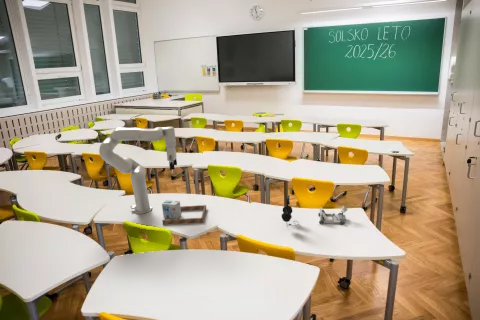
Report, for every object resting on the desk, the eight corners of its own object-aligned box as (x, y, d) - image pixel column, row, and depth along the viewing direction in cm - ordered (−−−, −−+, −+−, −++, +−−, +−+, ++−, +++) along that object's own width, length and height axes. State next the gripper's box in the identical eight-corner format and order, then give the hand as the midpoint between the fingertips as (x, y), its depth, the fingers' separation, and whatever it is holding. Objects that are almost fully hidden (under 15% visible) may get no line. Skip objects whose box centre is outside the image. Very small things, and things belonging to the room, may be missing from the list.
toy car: (347, 203, 216) (349, 211, 205) (346, 217, 219) (349, 225, 208) (318, 202, 219) (319, 210, 209) (318, 216, 222) (319, 224, 211)
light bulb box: (163, 218, 233) (161, 203, 229) (168, 213, 239) (166, 199, 236) (177, 219, 230) (175, 204, 226) (181, 214, 236) (179, 200, 233)
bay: (162, 224, 224) (161, 220, 223) (168, 210, 244) (168, 207, 243) (203, 222, 223) (202, 218, 222) (206, 208, 243) (206, 205, 243)
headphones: (300, 232, 203) (299, 201, 197) (281, 231, 206) (280, 201, 200) (300, 220, 217) (300, 191, 212) (283, 219, 220) (282, 191, 214)
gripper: (168, 141, 247) (170, 163, 252) (162, 147, 230) (165, 171, 235) (178, 141, 246) (180, 163, 251) (173, 147, 230) (176, 170, 235)
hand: (173, 167), depth 243 cm, fingers open, 9 cm apart
